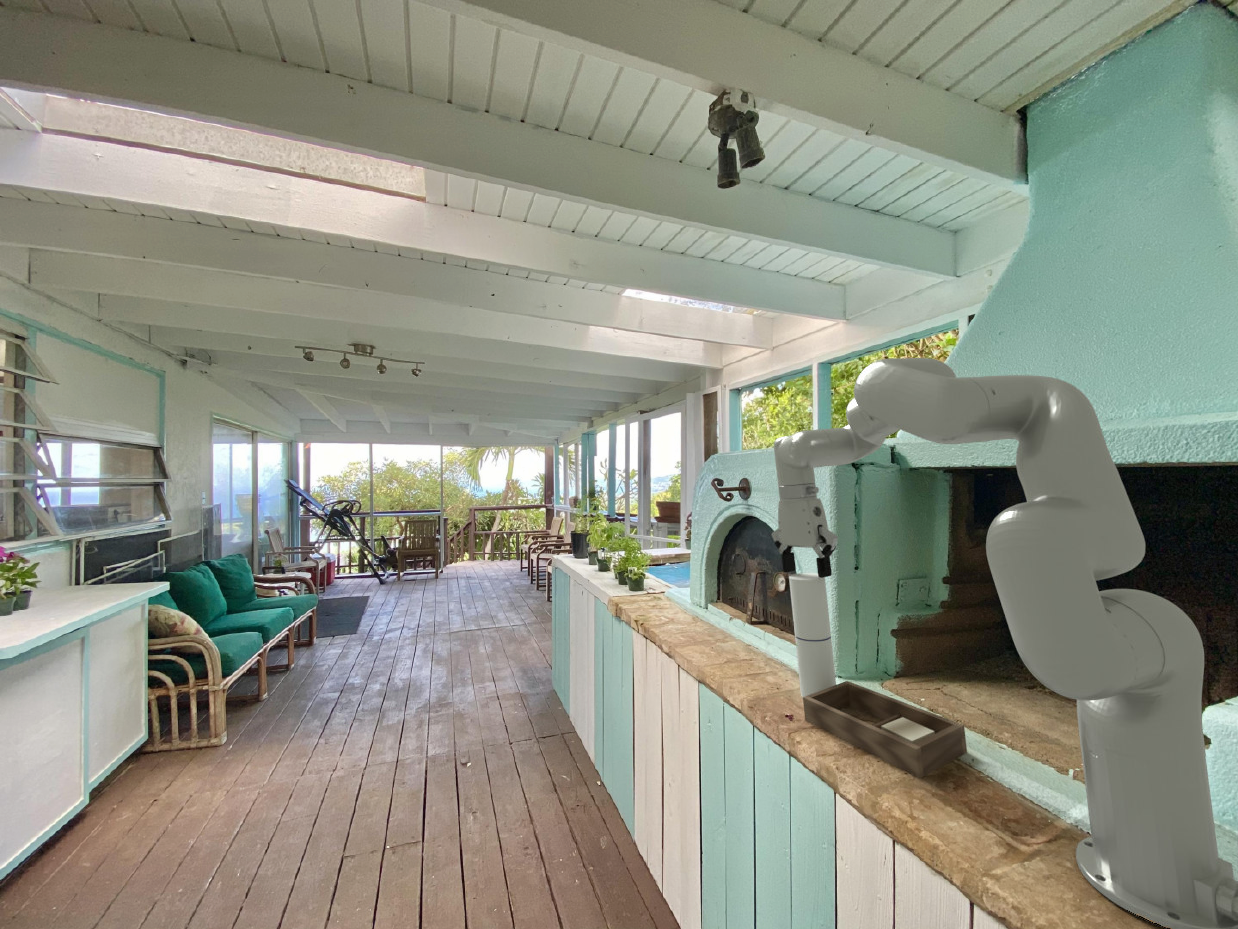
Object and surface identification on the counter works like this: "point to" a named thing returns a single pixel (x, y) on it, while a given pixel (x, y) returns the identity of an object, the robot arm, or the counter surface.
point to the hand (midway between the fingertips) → (806, 573)
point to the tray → (881, 743)
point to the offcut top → (907, 730)
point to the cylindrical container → (812, 632)
